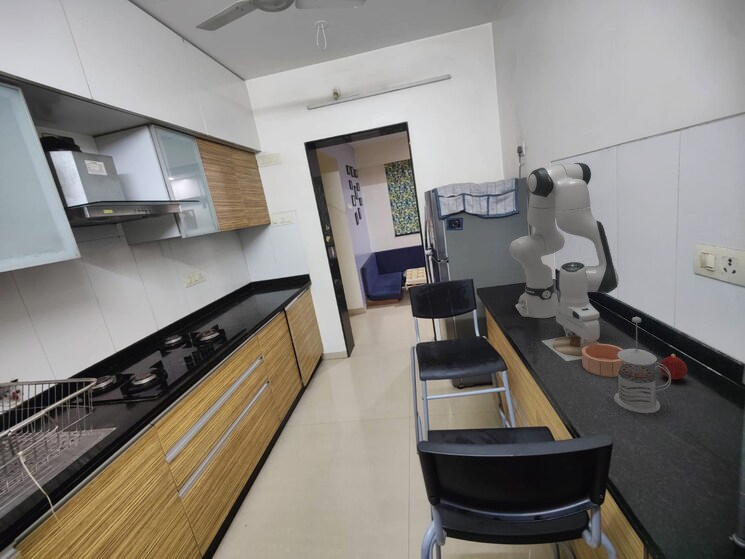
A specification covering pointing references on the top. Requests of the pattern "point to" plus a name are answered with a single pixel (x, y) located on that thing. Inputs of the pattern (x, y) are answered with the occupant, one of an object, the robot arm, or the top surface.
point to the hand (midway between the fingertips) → (576, 341)
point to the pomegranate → (674, 367)
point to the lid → (570, 345)
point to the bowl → (602, 359)
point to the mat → (565, 357)
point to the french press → (636, 394)
